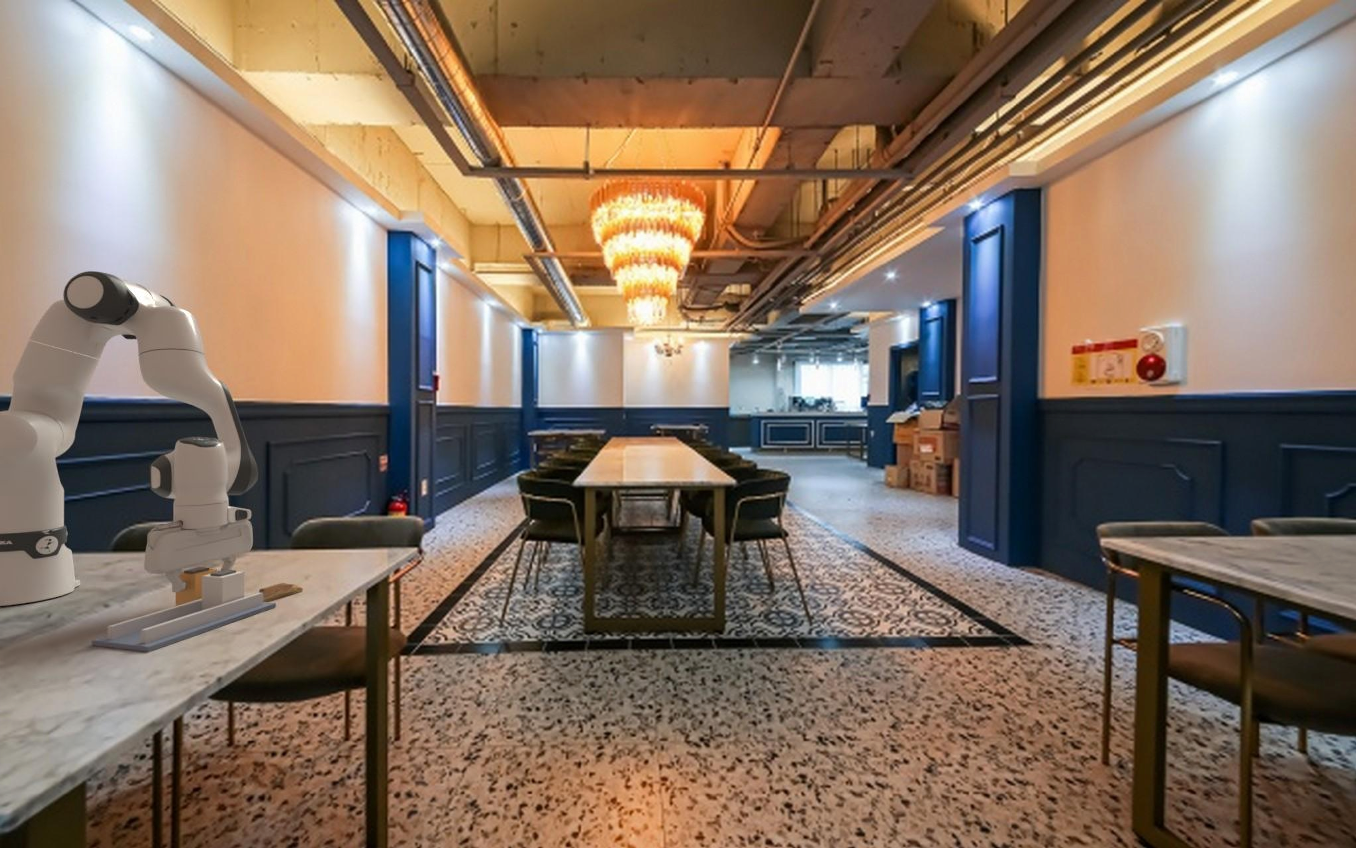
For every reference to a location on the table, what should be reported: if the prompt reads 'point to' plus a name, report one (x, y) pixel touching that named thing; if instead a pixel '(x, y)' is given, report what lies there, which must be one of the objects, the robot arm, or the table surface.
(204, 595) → the rail panel
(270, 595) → the shard
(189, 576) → the block
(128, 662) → the table surface
